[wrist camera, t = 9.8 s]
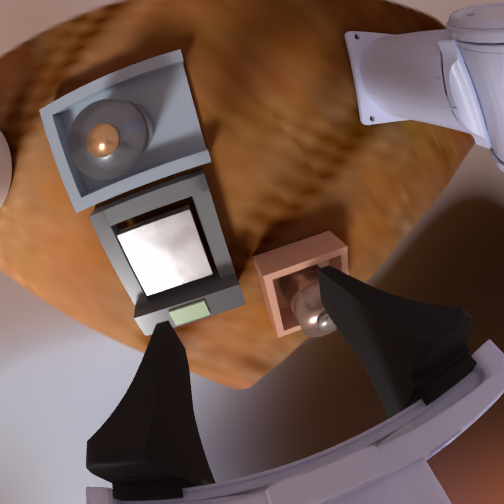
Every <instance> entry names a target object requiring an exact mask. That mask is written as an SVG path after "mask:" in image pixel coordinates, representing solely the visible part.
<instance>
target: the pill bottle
mask: <svg viewBox="0 0 504 504" xmlns="http://www.w3.org/2000/svg"><path fill="white" fill-rule="evenodd" d="M11 177H12V160H11V154H10V149H9V146H8V143H7V141H6V139H5V137H4V135H3V133H2V132H1V131H0V207H1V205H2V204H3V202H4V201H5V199H6V196H7V194H8V191H9V188H10V183H11Z"/></svg>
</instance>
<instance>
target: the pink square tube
mask: <svg viewBox="0 0 504 504" xmlns="http://www.w3.org/2000/svg"><path fill="white" fill-rule="evenodd" d="M253 259H254V263H255V267H256V271H257V274H258V278H259V282H260V286H261V289H262V293H263V297H264V301H265V304H266V308H267V312H268V316H269V318H270V320H271V322H272V325H273V327H274V329H275V331H276V333H277V335H278V337H282V336H284V335H287V334H290V333H292V332H295V331H298V330H300V329H302V328H301V327H300V325H299V323H298V321H297V319H296V317H295V316H294V314H293V312H292V310H291V308H290V306H289V305H288V303H287V301H286V299H285V297H284V296H283V294H282V292H281V290H280V288H279V277H282V276H285V275H287V274H290V273H293V272H296V271H299V270H301V269H304V268H307V267H310V266H312V265H315V264H318V266H319V267H320V268H322V267H325V266H328V265H330V266H332V267H334V268H336V269H338V270H340V271H342V272H344V273H346V274H347V275H348V252H347V245H345V244H344V243H343V242H342V241H341V240H340V239H339V238H338V237H336V236H335V235H334V234H333V233H332V232H331V231H330V230H329V231H326V232H323V233H320V234H317V235H314V236H311V237H308V238H306V239H303V240H300V241H297V242H294V243H291V244H288V245H285V246H282V247H279V248H276V249H273V250H270V251H267V252H264V253H261V254H258V255H255V256H253Z"/></svg>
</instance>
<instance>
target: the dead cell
mask: <svg viewBox="0 0 504 504" xmlns="http://www.w3.org/2000/svg"><path fill="white" fill-rule="evenodd" d="M318 269H320V267H319V266H318V264H315V265H312V266H310V267H307V268H304V269H301V270H299V271H296V272H293V273H290V274H287V275H285V276H282V277H279V288H280V290H281V292H282V294H283V296H284V297H285V299H286V301H287V303H288V305H289V306H290V308H291V310H292V312H293V314H294V316H295V317H296V319H297V321H298V323H299V325H300V327H301V328H302V330H303V332H304V333H305V334H306V335H308V336H311V337H320V336H324V335H327V334H329V333H331V332H332V331H334V330H336V329H337V327H336V325H335V324H334V323H333V321H332V320H331V319H330V317H329V315H328V314H327V312H326V310H325V308H324V306H323V304H322V303H321V298H320V287H319V277H318Z"/></svg>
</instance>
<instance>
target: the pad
mask: <svg viewBox="0 0 504 504" xmlns="http://www.w3.org/2000/svg"><path fill="white" fill-rule="evenodd" d="M117 236H118V239H119V241H120V243H121V245H122V247H123V249H124V251H125V253H126V255H127V257H128V259H129V261H130V263H131V265H132V267H133V269H134V271H135V273H136V275H137V277H138V279H139V281H140V283H141V285H142V287H143V288H144V290H145V292H146V294H147V296H148V295H151V294H154V293H157V292H160V291H163V290H166V289H169V288H172V287H175V286H178V285H181V284H184V283H187V282H190V281H193V280H196V279H199V278H202V277H205V276H208V275H211V274H213V273H212V269H211V266H210V263H209V260H208V258H207V255H206V252H205V249H204V247H203V244H202V241H201V238H200V235H199V232H198V230H197V227H196V224H195V221H194V218H193V215H192V212H191V209H190V206H189V205H186V206H183V207H180V208H178V209H175V210H172V211H169V212H166V213H163V214H160V215H158V216H155V217H152V218H149V219H147V220H144V221H141V222H139V223H136V224H133V225H131V226H128V227H125V228H123V229H120V230H119V233H118V235H117Z"/></svg>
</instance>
